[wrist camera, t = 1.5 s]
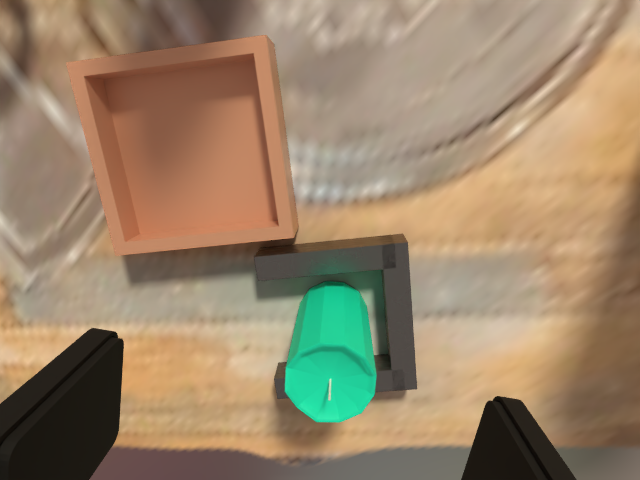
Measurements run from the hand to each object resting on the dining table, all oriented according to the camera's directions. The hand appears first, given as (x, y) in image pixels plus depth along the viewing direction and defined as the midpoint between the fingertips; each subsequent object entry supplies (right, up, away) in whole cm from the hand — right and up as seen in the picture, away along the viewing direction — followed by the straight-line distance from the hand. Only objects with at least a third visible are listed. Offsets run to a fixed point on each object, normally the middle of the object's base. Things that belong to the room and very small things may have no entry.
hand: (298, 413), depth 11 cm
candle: (+2, -2, +26) cm, 27 cm away
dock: (+2, -2, +26) cm, 26 cm away
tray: (-9, +11, +23) cm, 27 cm away
